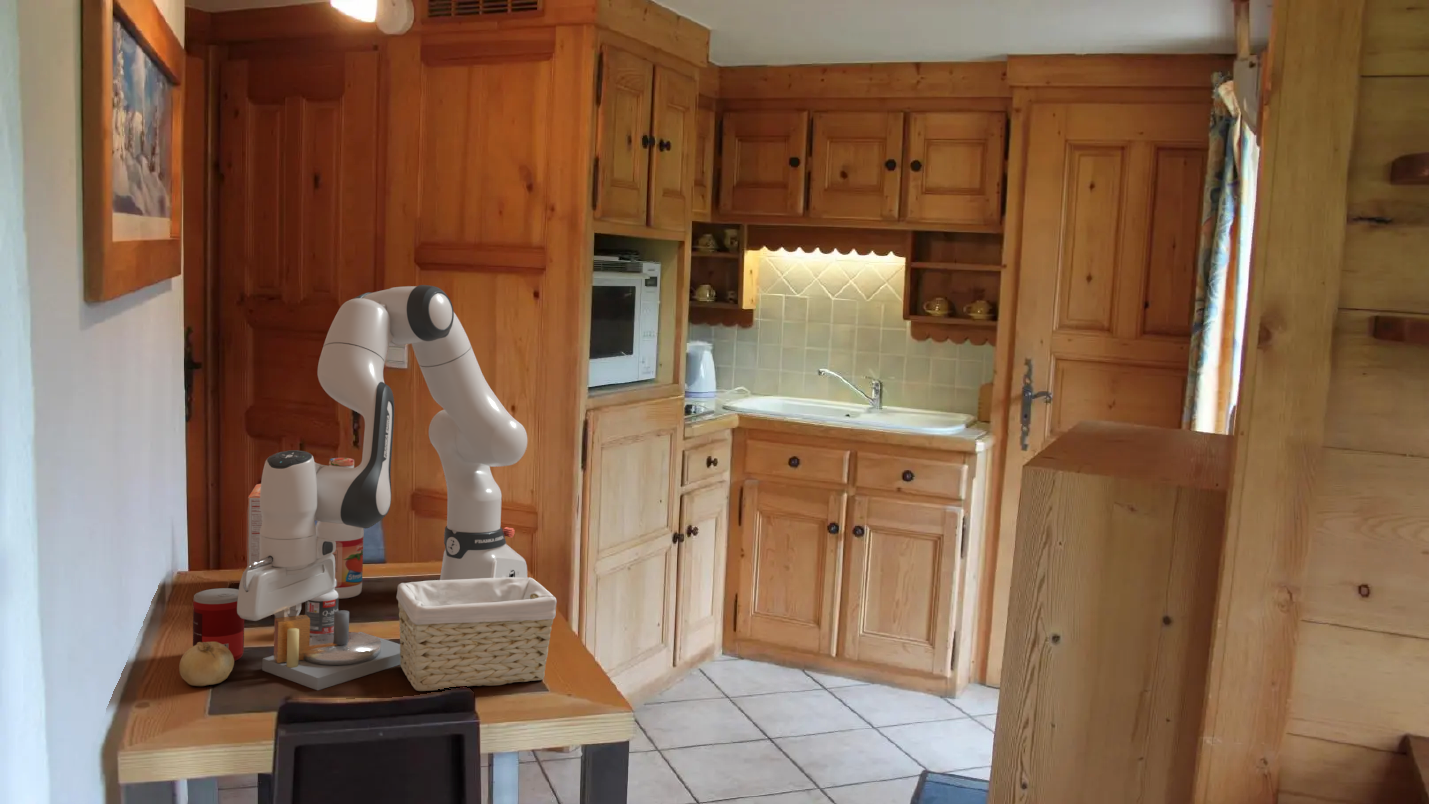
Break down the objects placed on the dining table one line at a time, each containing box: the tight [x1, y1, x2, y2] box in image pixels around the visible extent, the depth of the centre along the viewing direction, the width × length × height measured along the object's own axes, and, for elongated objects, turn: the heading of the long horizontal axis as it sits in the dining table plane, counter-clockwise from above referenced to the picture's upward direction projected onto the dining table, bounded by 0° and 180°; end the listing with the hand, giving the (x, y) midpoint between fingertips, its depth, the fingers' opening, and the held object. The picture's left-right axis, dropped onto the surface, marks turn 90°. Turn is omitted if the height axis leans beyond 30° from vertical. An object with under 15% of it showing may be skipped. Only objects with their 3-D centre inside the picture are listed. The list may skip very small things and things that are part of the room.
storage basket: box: [395, 577, 557, 692], centre depth 189 cm, size 24×16×15 cm
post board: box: [261, 609, 401, 691], centre depth 189 cm, size 20×14×9 cm
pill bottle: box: [304, 579, 339, 637], centre depth 206 cm, size 6×6×10 cm
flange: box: [273, 614, 381, 665], centre depth 188 cm, size 13×17×7 cm
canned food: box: [192, 587, 245, 662], centre depth 189 cm, size 8×8×11 cm
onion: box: [178, 642, 235, 687], centre depth 178 cm, size 8×8×7 cm
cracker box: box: [246, 483, 262, 568], centre depth 232 cm, size 14×6×21 cm, turn 15°
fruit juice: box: [315, 457, 365, 600], centre depth 231 cm, size 9×9×28 cm
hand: (287, 631), depth 187 cm, fingers closed
